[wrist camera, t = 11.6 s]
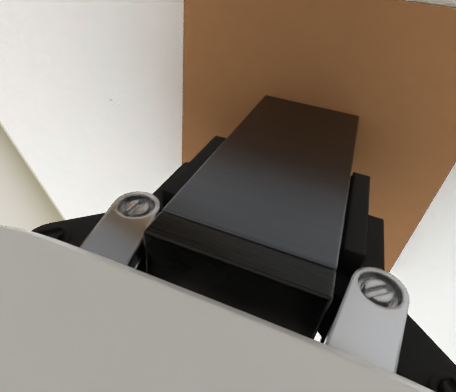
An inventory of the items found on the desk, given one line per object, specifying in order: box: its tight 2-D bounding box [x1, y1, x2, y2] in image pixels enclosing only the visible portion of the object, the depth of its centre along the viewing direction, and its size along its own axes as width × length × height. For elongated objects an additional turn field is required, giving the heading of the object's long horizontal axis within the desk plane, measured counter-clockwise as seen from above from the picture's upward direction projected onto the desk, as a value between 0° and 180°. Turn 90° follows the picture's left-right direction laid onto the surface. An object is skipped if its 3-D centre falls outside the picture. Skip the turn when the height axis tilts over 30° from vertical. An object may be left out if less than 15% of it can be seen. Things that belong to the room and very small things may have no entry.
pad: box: [182, 0, 456, 273], centre depth 15 cm, size 12×12×1 cm
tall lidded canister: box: [143, 95, 359, 339], centre depth 11 cm, size 5×4×10 cm
